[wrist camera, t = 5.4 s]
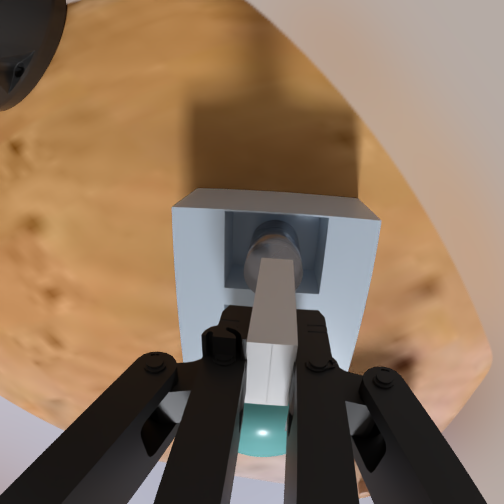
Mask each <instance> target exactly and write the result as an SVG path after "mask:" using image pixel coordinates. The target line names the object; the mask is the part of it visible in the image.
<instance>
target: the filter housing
mask: <svg viewBox="0 0 504 504" xmlns="http://www.w3.org/2000/svg"><path fill="white" fill-rule="evenodd" d="M269 220H281V221H284V222H286V223H288V224H289V225H291V226H292V227H293V228H294V230H295V231H296V233H297V235H298V239H299V246H300V253H301V260H302V267H303V277H302V281H301V283H300V285H299V287H298V288H297V289H296V290H295V298H296V309H306V310H319V311H320V313H321V314H322V315H323V316H324V317H325V321H326V327H327V334H328V337H329V343H330V348H331V354H332V357H333V358H334V359H335V360H336V361H337V363H338V365H339V367H340V368H341V369H343V370H345V371H347V372H348V369H349V366H350V362H351V359H352V355H353V352H354V348H355V344H356V341H357V337H358V333H359V329H360V325H361V321H362V317H363V313H364V308H365V304H366V300H367V295H368V291H369V286H370V281H371V276H372V271H373V266H374V261H375V256H376V250H377V245H378V239H379V233H380V227H381V220H380V219H379V218H378V217H377V216H376V215H375V214H374V213H373V212H372V211H371V210H370V209H369V208H368V207H367V206H366V205H365V204H364V203H363V202H361V201H360V200H359V199H358V198H349V197H339V196H328V195H316V194H303V193H289V192H274V191H257V190H237V189H212V188H197V189H195V190H194V191H193V192H191V193H190V194H189V195H187V196H186V197H185V198H183V199H182V200H180V201H179V202H178V203H176V204H175V205H174V206H173V207H172V227H173V248H174V265H175V279H176V293H177V305H178V316H179V326H180V336H181V345H182V354H183V363H184V362H192V361H196V360H199V359H201V358H202V340H201V335H202V333H203V332H204V331H205V330H206V329H208V328H210V327H212V326H216V325H218V324H219V321H220V317H221V314H222V311H223V310H224V309H226V308H227V307H228V306H229V305H238V306H250V307H253V303H254V298H255V293H254V292H253V291H252V290H251V289H250V288H249V287H248V285H247V284H246V282H245V279H244V265H245V261H246V258H247V254H248V250H249V246H250V243H251V239H252V235H253V233H254V231H255V229H256V228H257V227H258V226H259V225H260V224H262V223H264V222H266V221H269Z"/></svg>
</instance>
